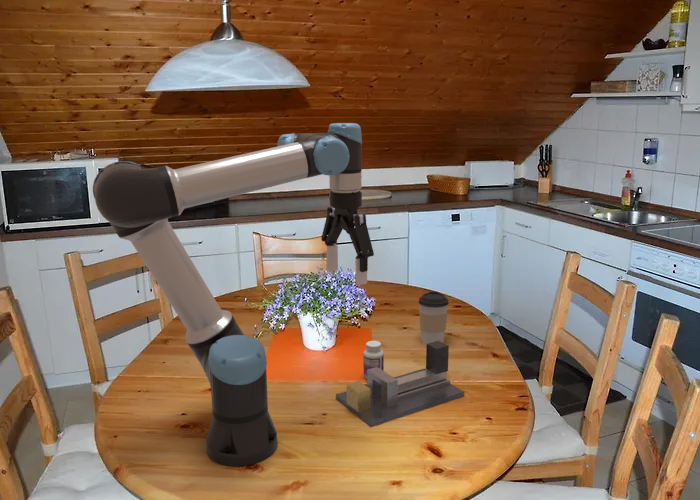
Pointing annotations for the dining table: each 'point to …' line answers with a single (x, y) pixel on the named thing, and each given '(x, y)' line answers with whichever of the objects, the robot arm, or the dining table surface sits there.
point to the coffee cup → (433, 316)
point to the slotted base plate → (399, 397)
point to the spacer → (358, 396)
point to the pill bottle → (373, 356)
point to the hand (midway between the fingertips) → (346, 277)
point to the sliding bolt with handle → (428, 369)
